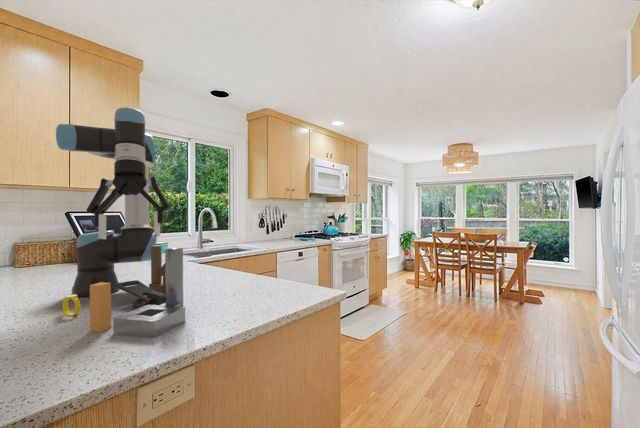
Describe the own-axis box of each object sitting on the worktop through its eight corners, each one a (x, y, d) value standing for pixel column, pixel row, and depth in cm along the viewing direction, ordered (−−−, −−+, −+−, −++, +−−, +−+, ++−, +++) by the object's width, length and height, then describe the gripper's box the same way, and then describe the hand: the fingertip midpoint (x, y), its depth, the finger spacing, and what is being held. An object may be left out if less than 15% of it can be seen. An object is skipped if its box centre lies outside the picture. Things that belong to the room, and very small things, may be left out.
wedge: (101, 326, 86) (100, 282, 86) (111, 327, 85) (110, 282, 85) (90, 331, 83) (89, 285, 82) (100, 332, 82) (99, 285, 82)
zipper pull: (138, 279, 115) (179, 288, 101) (138, 297, 115) (179, 309, 101) (111, 284, 107) (151, 294, 94) (111, 303, 107) (151, 317, 94)
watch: (82, 315, 96) (83, 296, 96) (73, 318, 93) (73, 298, 93) (69, 312, 98) (70, 292, 98) (59, 314, 95) (60, 295, 95)
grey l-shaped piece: (162, 311, 98) (162, 247, 98) (197, 314, 96) (197, 247, 95) (113, 334, 81) (112, 255, 80) (154, 337, 78) (153, 256, 78)
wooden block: (169, 296, 116) (169, 247, 116) (148, 293, 120) (148, 245, 120) (177, 293, 119) (177, 246, 119) (157, 291, 124) (156, 244, 124)
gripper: (72, 158, 84) (70, 239, 81) (174, 157, 89) (175, 232, 86) (87, 167, 91) (85, 241, 88) (180, 165, 96) (182, 235, 93)
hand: (130, 237), depth 87 cm, fingers open, 13 cm apart
